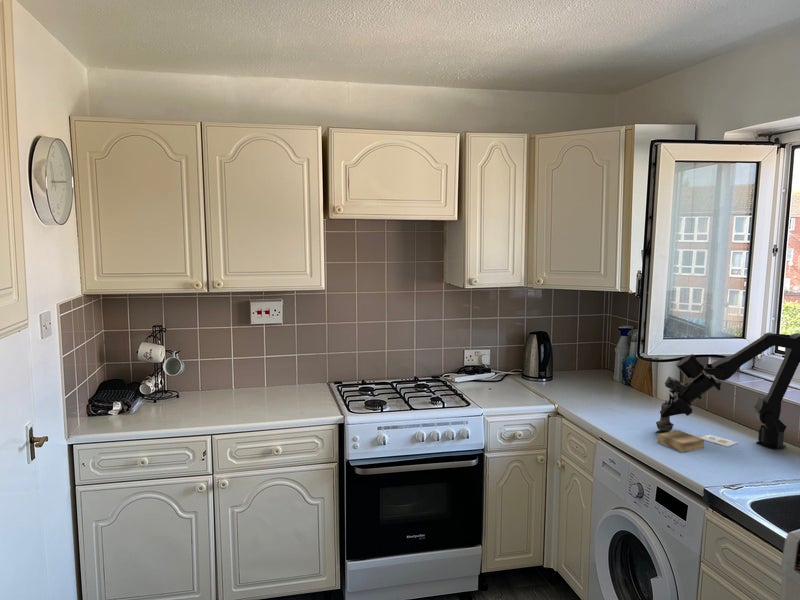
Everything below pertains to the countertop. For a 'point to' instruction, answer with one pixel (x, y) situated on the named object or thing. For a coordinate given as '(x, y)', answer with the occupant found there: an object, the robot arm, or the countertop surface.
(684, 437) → the base brick
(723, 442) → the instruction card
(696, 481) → the countertop surface
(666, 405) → the weathered stone finial
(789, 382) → the robot arm
